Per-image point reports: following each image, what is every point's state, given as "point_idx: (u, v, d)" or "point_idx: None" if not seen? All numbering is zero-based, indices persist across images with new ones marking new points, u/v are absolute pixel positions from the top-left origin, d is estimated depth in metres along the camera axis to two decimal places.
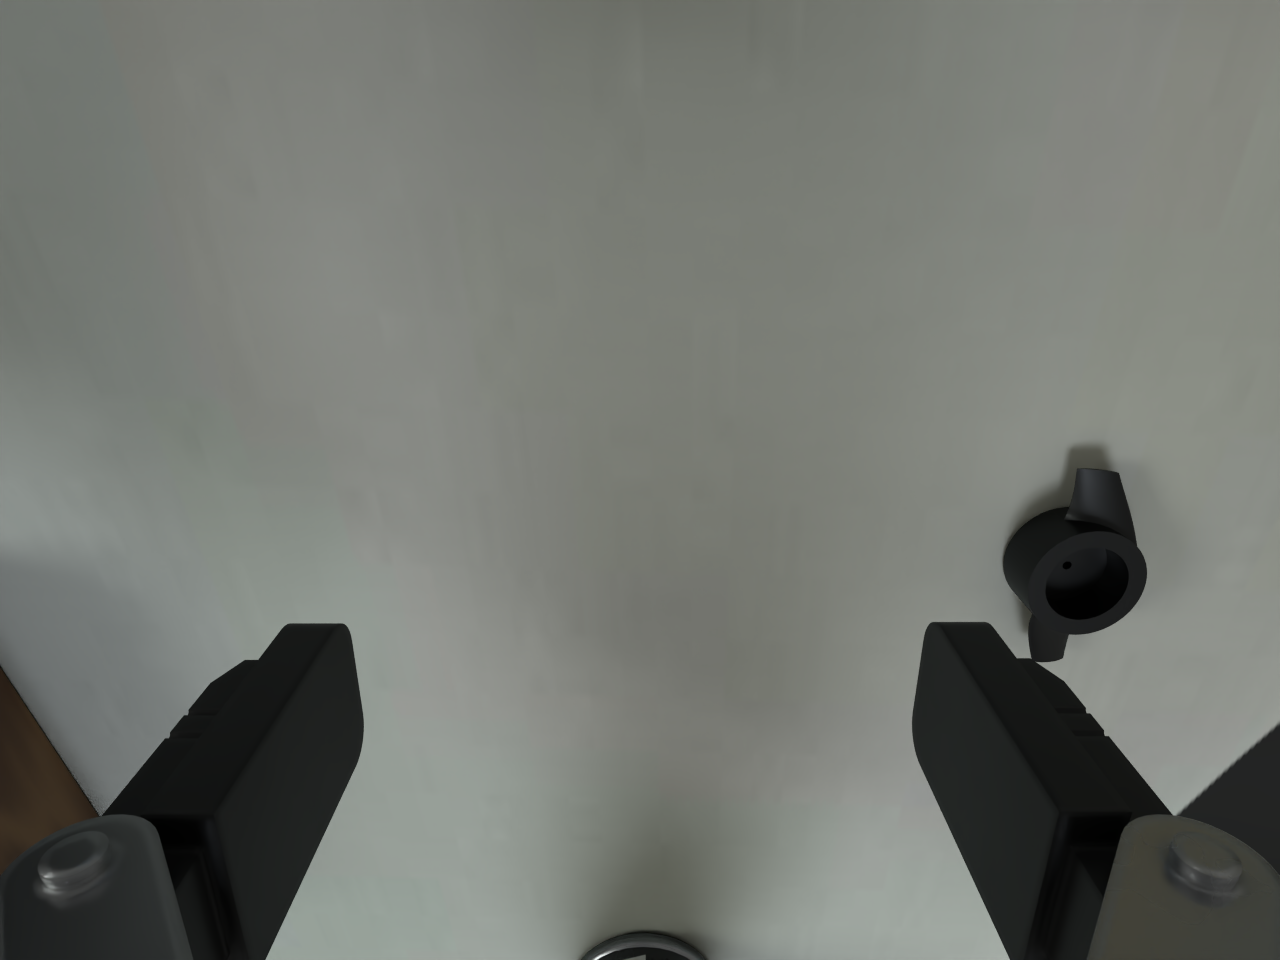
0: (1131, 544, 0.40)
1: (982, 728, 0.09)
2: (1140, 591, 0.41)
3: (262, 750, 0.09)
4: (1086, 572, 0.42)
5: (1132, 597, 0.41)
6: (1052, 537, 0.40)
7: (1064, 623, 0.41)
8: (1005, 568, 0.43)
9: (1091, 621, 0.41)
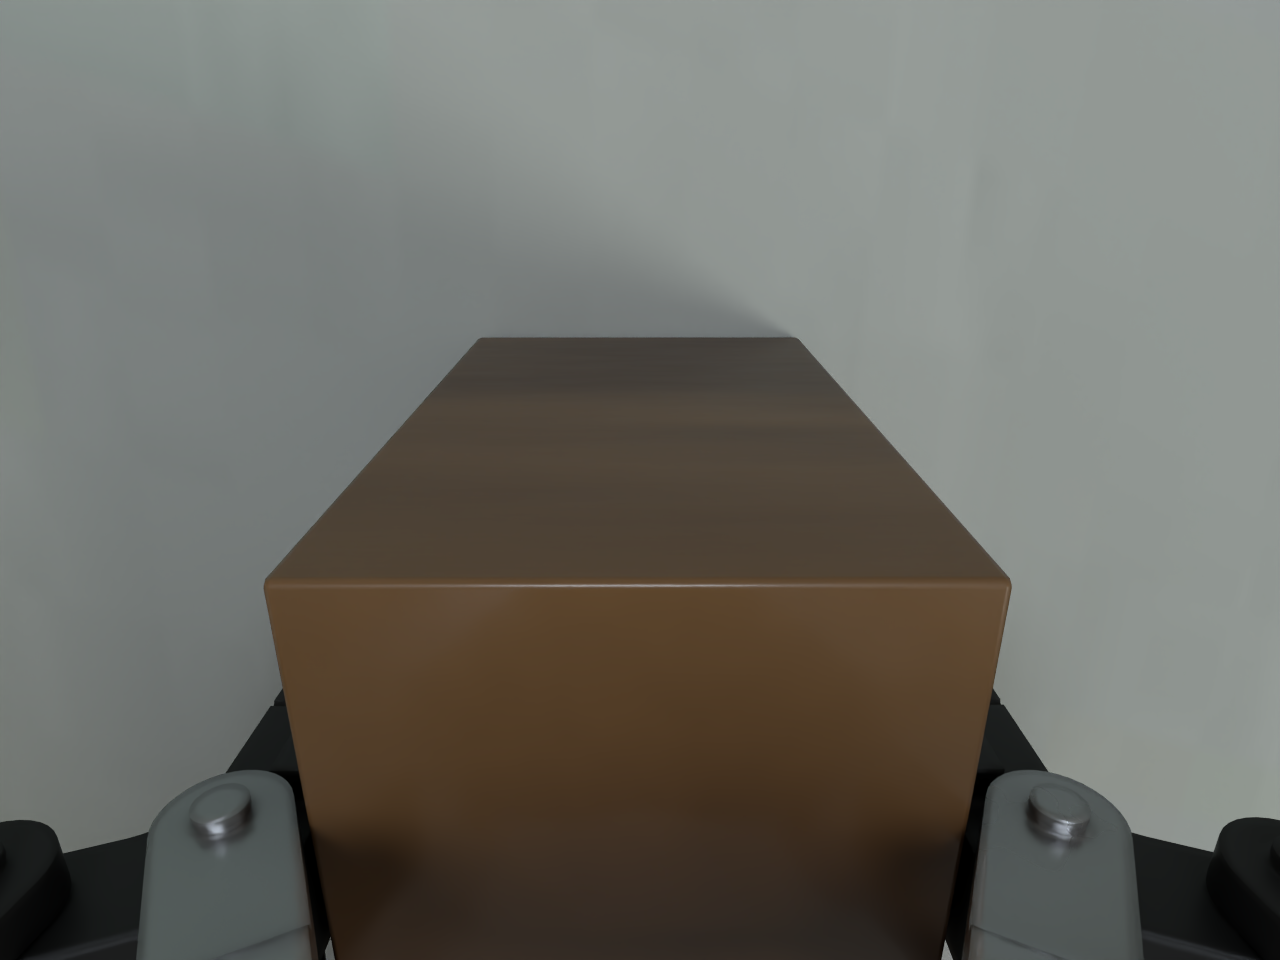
0: None
1: None
2: None
3: None
4: None
5: None
6: None
7: None
8: None
9: None
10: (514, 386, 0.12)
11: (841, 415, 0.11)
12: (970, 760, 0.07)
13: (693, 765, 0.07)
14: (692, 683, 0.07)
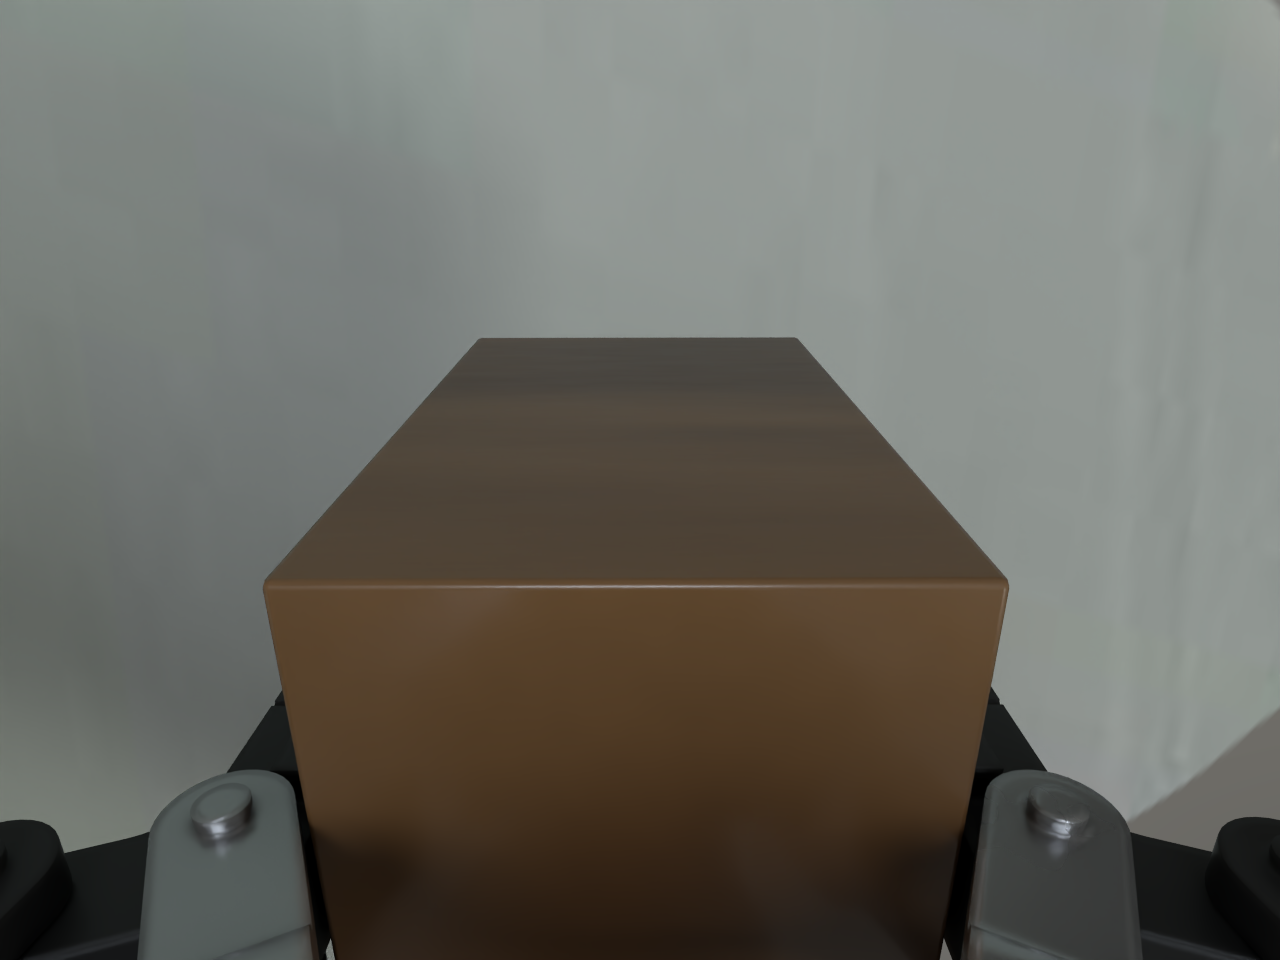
0: None
1: None
2: None
3: None
4: None
5: None
6: None
7: None
8: None
9: None
10: (513, 386, 0.12)
11: (840, 415, 0.11)
12: (968, 760, 0.07)
13: (692, 765, 0.07)
14: (689, 684, 0.07)
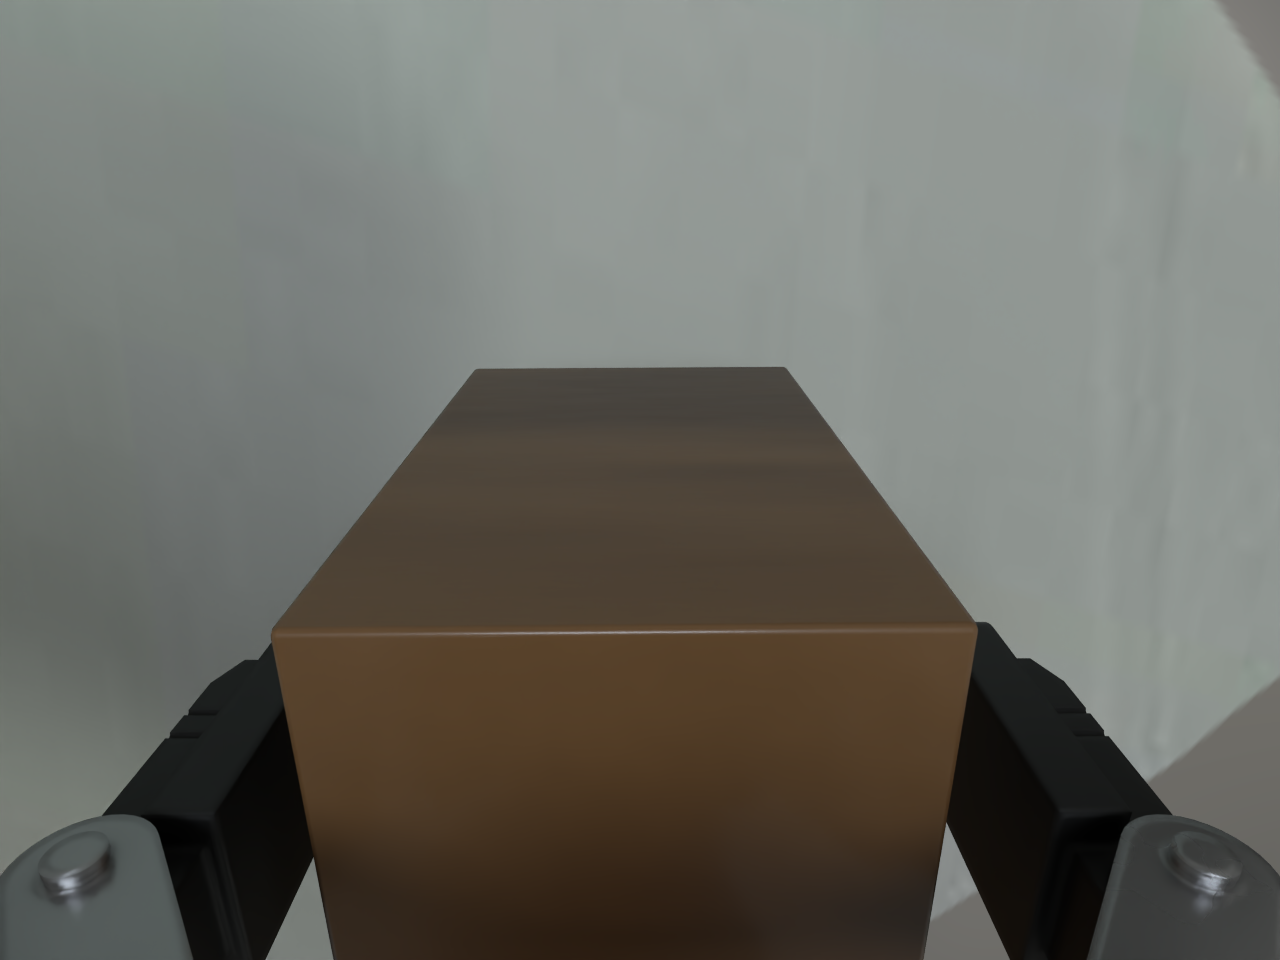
0: None
1: (982, 728, 0.09)
2: None
3: (263, 749, 0.09)
4: None
5: None
6: None
7: None
8: None
9: None
10: (509, 421, 0.12)
11: (824, 451, 0.11)
12: (943, 793, 0.07)
13: (680, 798, 0.08)
14: (678, 723, 0.07)
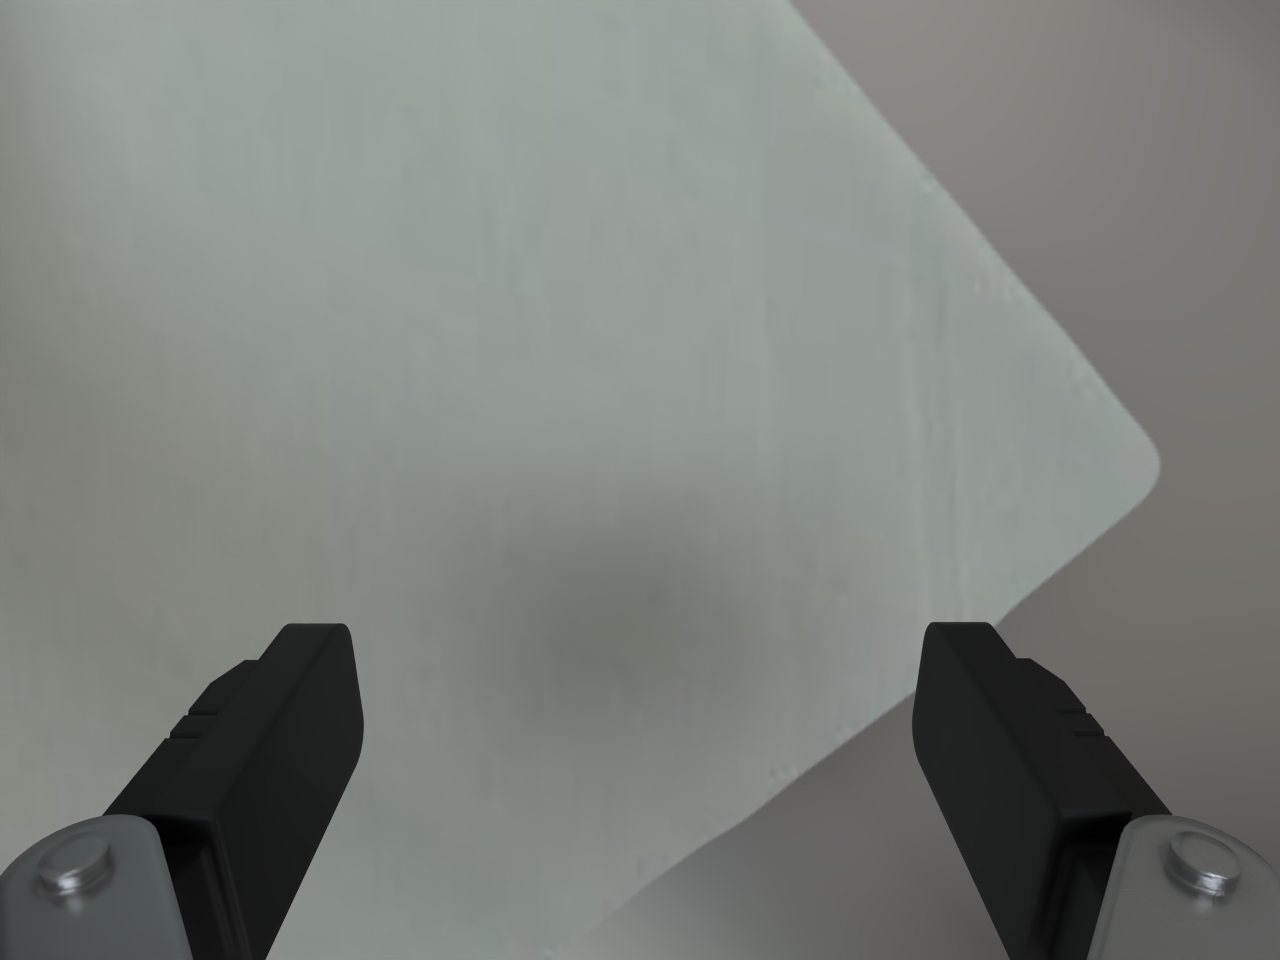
0: None
1: (982, 728, 0.09)
2: None
3: (262, 750, 0.09)
4: None
5: None
6: None
7: None
8: None
9: None
10: None
11: None
12: None
13: None
14: None
